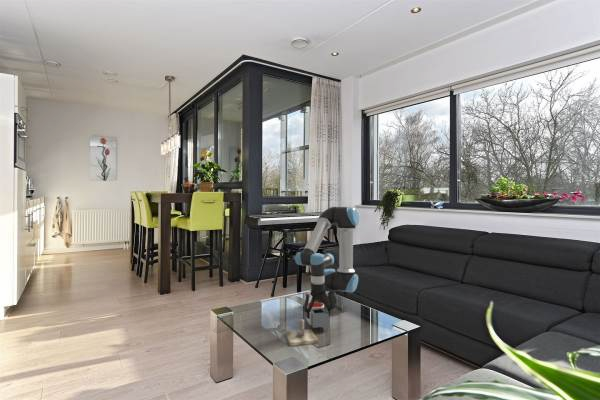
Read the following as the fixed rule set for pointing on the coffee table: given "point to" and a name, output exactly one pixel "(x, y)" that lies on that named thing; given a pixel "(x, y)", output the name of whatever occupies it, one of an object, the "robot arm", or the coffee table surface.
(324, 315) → the collar
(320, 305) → the cup
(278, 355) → the coffee table surface
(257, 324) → the coffee table surface
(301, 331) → the shaft block
